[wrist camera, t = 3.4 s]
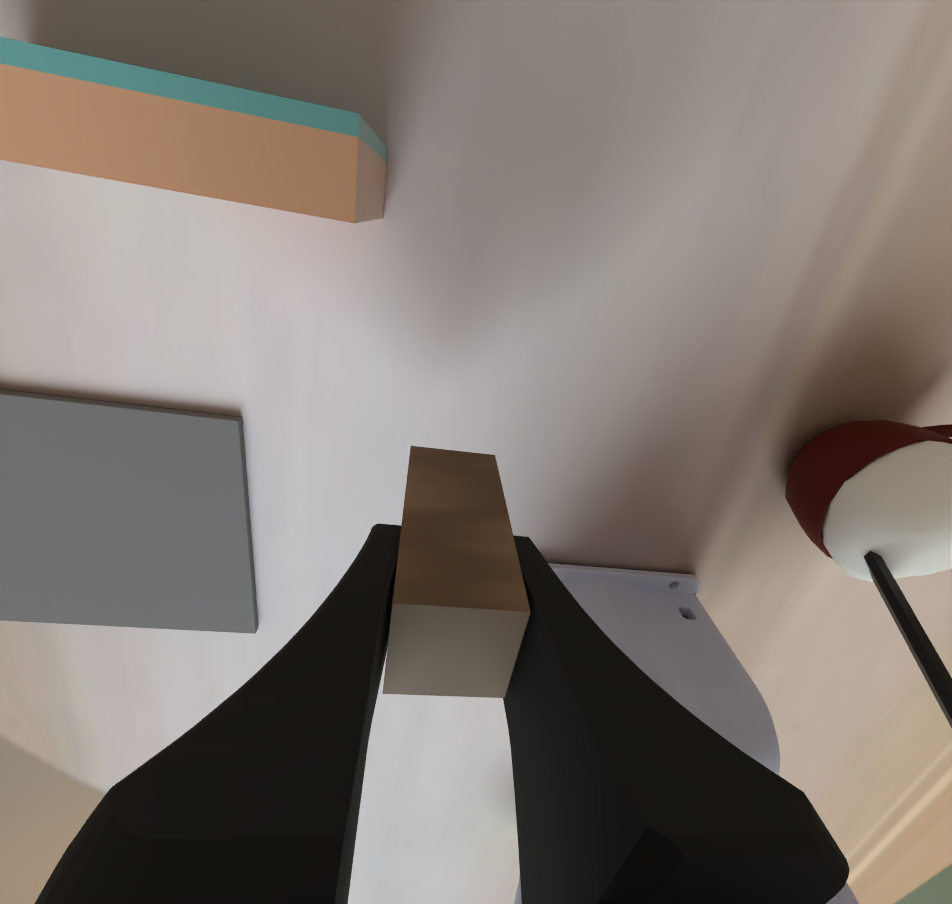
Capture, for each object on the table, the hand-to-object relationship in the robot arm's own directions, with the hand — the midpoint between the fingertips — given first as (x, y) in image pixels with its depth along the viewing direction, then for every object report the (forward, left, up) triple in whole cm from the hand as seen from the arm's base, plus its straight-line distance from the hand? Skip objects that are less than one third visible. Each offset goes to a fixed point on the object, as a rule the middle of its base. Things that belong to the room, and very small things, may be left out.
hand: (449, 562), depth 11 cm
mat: (+14, +7, -9) cm, 18 cm away
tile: (+8, -8, -9) cm, 14 cm away
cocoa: (-18, 0, -9) cm, 20 cm away
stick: (0, 0, -3) cm, 3 cm away
